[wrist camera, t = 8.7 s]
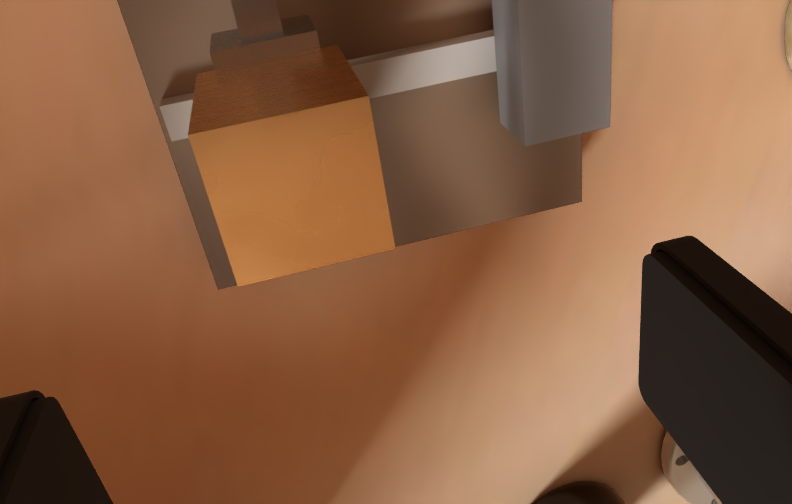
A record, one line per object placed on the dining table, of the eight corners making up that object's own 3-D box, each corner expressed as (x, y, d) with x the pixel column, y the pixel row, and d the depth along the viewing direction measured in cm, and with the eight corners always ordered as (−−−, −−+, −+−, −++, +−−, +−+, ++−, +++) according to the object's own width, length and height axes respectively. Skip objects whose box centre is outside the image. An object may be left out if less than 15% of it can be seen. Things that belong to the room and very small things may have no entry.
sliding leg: (272, -244, 18) (298, -308, 11) (351, 154, 24) (398, 265, 17) (119, -220, 17) (54, -271, 11) (238, 179, 23) (243, 302, 17)
